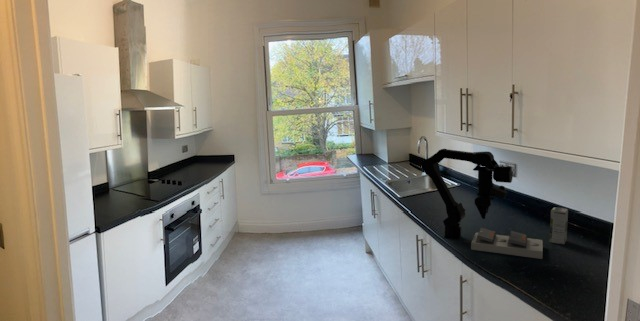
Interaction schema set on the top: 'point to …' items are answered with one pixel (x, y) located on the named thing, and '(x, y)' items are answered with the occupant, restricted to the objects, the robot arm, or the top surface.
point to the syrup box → (558, 225)
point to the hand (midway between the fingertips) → (484, 215)
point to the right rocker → (517, 238)
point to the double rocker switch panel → (508, 246)
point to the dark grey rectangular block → (486, 234)
